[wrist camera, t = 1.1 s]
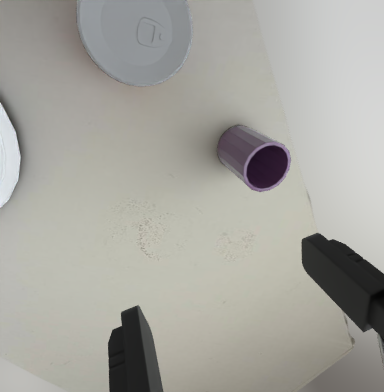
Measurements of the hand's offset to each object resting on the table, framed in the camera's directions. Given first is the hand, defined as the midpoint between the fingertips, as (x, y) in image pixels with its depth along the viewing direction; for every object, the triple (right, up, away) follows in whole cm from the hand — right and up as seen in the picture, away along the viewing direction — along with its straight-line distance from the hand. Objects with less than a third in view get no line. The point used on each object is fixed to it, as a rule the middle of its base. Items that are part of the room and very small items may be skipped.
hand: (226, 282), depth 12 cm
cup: (+5, +11, +25) cm, 28 cm away
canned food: (-8, +21, +16) cm, 27 cm away
